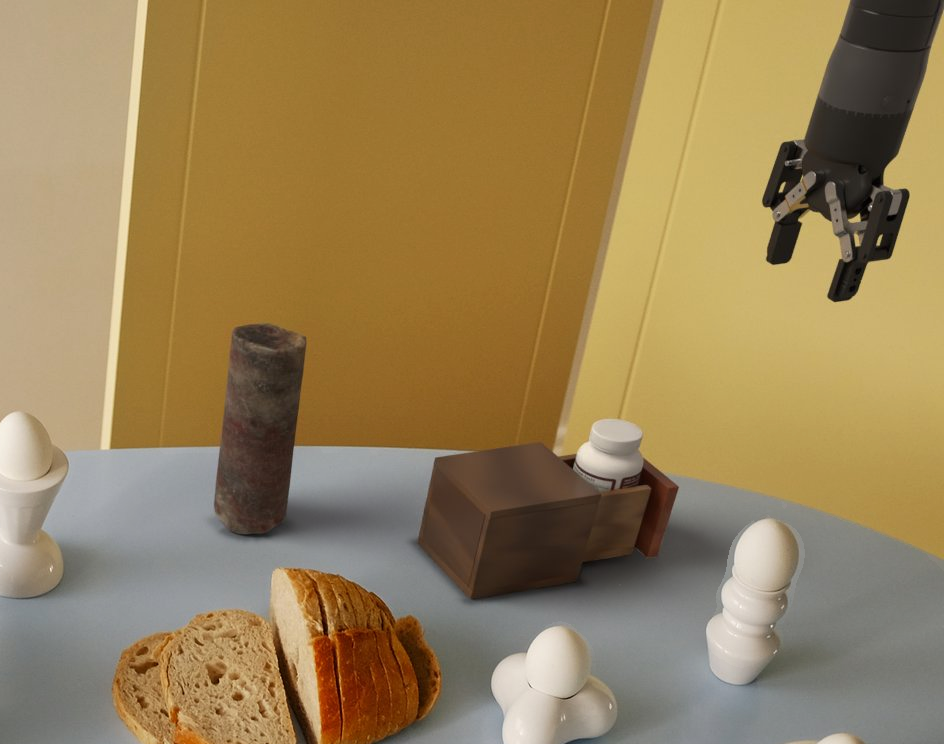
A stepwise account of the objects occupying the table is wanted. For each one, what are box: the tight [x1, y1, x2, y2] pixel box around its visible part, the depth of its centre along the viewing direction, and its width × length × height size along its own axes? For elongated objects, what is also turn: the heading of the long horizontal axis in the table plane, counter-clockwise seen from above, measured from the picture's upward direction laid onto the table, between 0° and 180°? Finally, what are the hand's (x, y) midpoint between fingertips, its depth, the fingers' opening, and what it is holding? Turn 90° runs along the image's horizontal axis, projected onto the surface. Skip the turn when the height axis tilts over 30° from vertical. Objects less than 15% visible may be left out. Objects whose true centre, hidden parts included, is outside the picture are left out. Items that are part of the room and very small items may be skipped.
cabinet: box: [416, 441, 601, 600], centre depth 169 cm, size 12×11×10 cm
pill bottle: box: [573, 418, 644, 492], centre depth 170 cm, size 6×6×11 cm
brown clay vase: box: [213, 322, 307, 535], centre depth 172 cm, size 8×7×20 cm
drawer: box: [557, 453, 680, 563], centre depth 172 cm, size 12×9×8 cm
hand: (807, 280), depth 157 cm, fingers open, 8 cm apart
